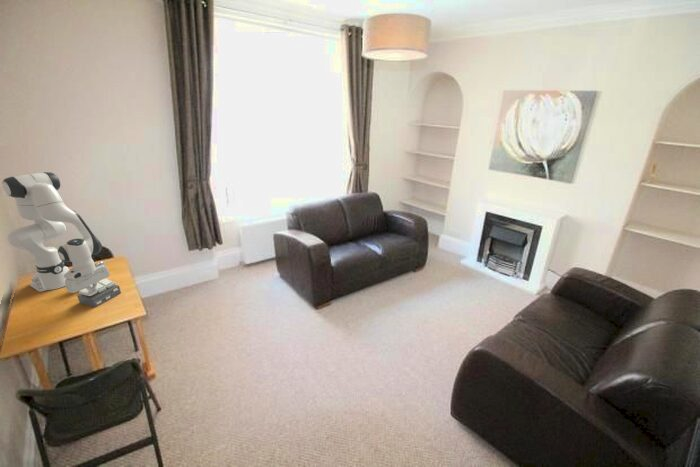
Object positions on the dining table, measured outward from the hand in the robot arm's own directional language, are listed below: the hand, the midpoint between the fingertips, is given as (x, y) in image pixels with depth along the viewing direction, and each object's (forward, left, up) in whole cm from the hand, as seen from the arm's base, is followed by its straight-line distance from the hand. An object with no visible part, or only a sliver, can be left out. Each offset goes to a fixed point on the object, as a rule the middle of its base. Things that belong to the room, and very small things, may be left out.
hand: (92, 291), depth 175 cm
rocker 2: (-4, +5, -1) cm, 6 cm away
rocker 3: (-4, +10, -1) cm, 11 cm away
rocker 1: (-4, 0, -1) cm, 4 cm away
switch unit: (-4, +5, -8) cm, 10 cm away
